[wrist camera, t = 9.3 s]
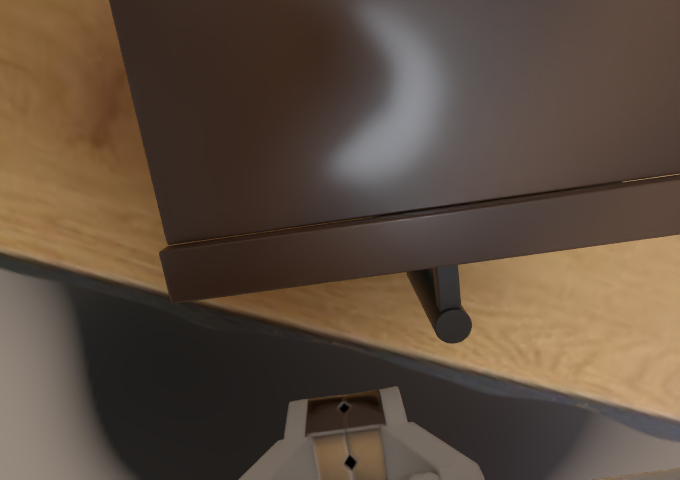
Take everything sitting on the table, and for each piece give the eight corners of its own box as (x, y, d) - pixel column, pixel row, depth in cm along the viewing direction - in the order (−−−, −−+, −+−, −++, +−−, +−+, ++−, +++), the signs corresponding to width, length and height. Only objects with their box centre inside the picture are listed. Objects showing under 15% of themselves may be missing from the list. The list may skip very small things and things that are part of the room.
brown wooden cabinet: (251, 218, 29) (170, 304, 15) (214, 20, 26) (68, -112, 12) (531, 178, 29) (729, 228, 14) (523, -26, 26) (759, -220, 12)
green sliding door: (371, 262, 29) (398, 359, 17) (361, 184, 27) (382, 227, 15) (521, 242, 28) (658, 325, 16) (517, 162, 27) (662, 188, 15)
